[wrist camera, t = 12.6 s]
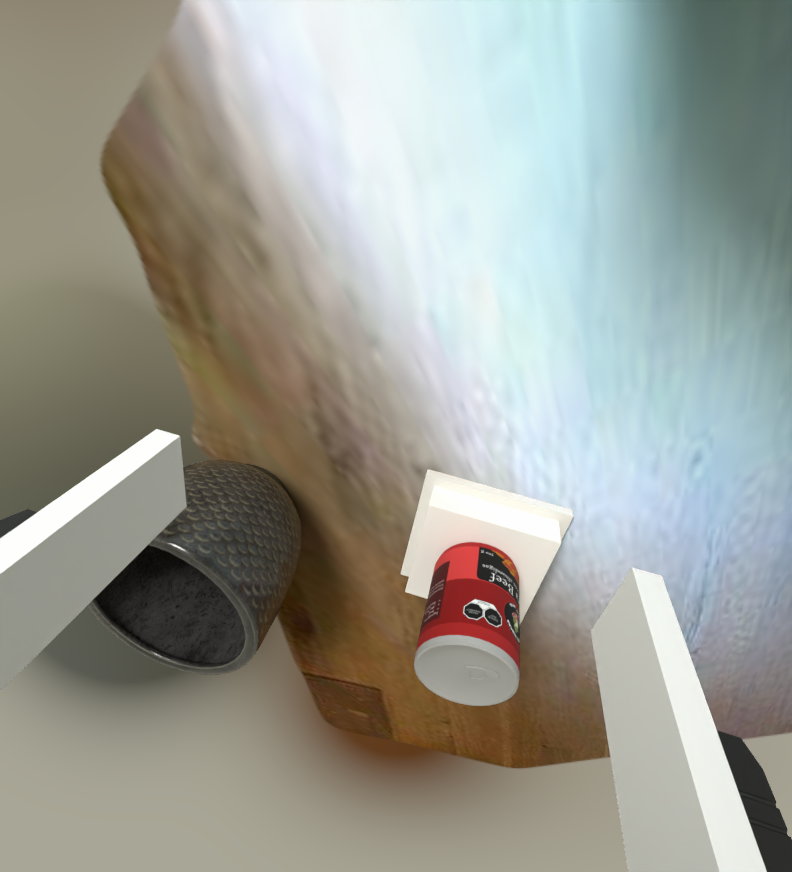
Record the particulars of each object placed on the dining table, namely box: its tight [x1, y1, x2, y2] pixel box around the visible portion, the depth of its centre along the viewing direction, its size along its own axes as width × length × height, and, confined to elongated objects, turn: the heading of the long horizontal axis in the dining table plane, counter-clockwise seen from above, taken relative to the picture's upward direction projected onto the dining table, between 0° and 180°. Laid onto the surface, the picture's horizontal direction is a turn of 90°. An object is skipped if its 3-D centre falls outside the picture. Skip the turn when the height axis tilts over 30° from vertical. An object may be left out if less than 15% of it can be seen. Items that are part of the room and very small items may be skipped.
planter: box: [87, 460, 302, 675], centre depth 45 cm, size 17×17×16 cm
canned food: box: [414, 542, 520, 706], centre depth 39 cm, size 8×8×11 cm
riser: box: [401, 469, 574, 624], centre depth 45 cm, size 14×14×4 cm
